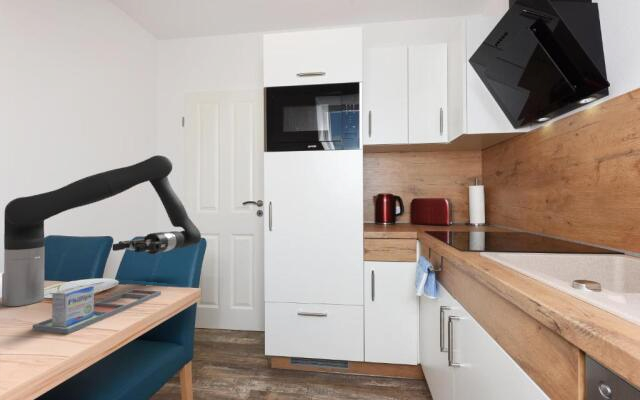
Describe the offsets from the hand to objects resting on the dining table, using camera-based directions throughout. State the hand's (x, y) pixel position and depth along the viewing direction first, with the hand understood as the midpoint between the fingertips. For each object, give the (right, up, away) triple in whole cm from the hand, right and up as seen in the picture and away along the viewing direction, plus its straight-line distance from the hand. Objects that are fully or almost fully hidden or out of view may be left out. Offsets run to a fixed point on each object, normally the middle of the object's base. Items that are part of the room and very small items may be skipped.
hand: (124, 248), depth 99 cm
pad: (-3, -17, -17) cm, 25 cm away
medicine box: (-3, -17, -17) cm, 24 cm away
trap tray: (-1, -17, -8) cm, 19 cm away
